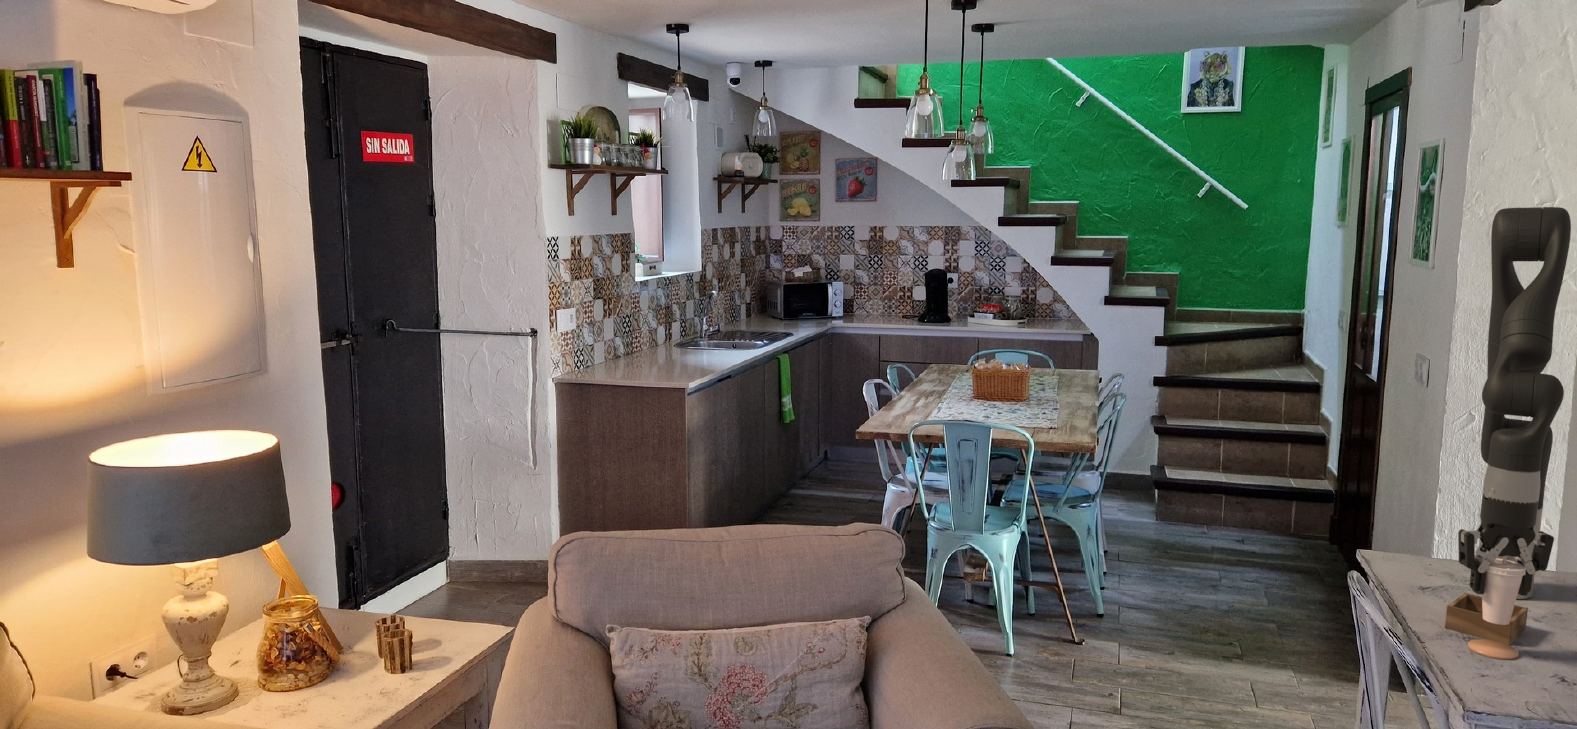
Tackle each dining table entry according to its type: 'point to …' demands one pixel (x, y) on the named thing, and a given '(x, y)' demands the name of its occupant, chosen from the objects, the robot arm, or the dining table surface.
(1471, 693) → the dining table surface
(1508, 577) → the smoothie
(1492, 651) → the coaster
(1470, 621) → the caddy
